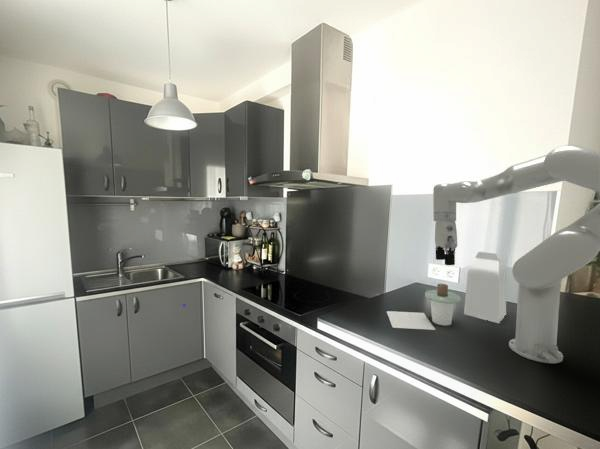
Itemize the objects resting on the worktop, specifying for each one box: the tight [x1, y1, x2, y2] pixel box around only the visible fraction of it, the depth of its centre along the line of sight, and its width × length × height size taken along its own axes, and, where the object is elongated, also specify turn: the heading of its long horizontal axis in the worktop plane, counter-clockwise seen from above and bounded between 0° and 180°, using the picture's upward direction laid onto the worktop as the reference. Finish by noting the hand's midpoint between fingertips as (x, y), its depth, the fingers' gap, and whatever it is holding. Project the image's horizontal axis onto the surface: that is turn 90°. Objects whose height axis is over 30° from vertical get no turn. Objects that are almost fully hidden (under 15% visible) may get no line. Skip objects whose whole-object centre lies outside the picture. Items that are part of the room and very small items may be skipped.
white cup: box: [430, 300, 455, 327], centre depth 104 cm, size 8×8×10 cm
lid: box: [424, 283, 461, 304], centre depth 104 cm, size 12×12×5 cm
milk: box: [463, 250, 507, 324], centre depth 110 cm, size 12×12×26 cm
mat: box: [386, 310, 436, 331], centre depth 107 cm, size 15×15×1 cm
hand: (444, 262), depth 102 cm, fingers open, 9 cm apart
